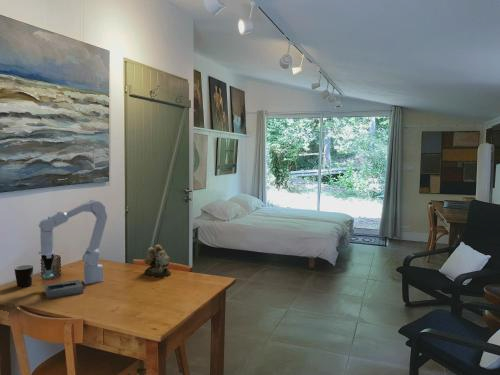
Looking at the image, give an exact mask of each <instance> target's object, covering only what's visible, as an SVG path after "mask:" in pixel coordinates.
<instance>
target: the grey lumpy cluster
mask: <svg viewBox="0 0 500 375" xmlns="http://www.w3.org/2000/svg"><path fill="white" fill-rule="evenodd" d="M143 262H144V263H145V264H146V265H148V267H147V268H146V269H145V270H144V275H145V274H146V275H145V276H148V277H151V276H154V277H153V278H164V276H167V277H169V276H168V275H170V274H171V275H172V271H171V270H169V265H170V256H168V254H167V253H166V250H165V249H163V247H162V245H161V244H155V245H154V246H153V247H152V246H151V247H148V248H147V253H146V256H145V259H143ZM171 275H170V276H171Z"/></svg>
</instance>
